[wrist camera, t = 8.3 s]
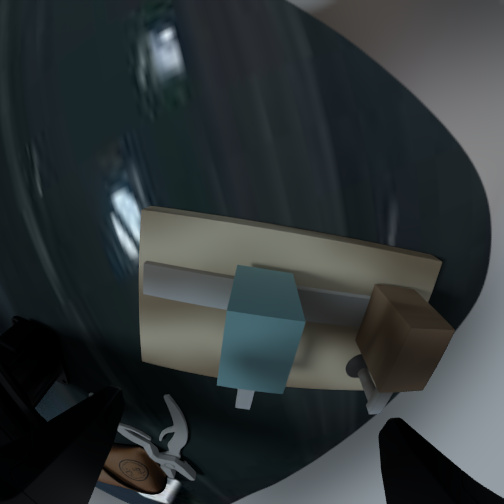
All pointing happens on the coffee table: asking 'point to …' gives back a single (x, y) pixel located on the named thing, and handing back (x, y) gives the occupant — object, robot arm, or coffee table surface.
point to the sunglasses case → (133, 470)
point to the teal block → (260, 333)
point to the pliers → (179, 439)
